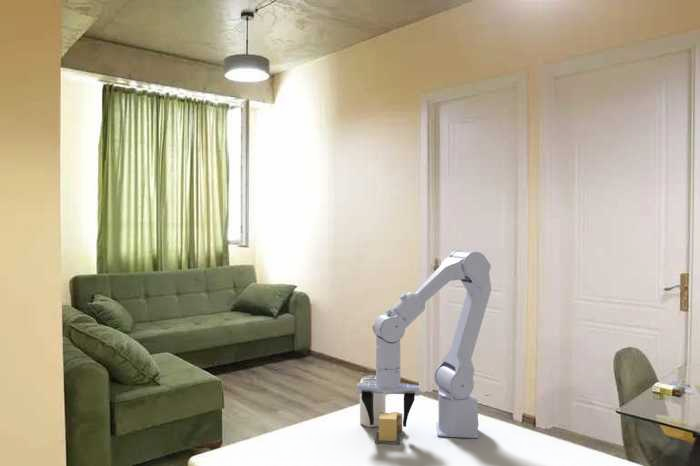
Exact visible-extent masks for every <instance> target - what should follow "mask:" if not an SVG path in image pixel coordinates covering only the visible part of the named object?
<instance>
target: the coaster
mask: <svg viewBox="0 0 700 466" xmlns="http://www.w3.org/2000/svg"><path fill="white" fill-rule="evenodd" d="M401 442H402V432H401V433H397V438H396V441H386V440H379V431H376V433H375V438H374V444H385V445H401V444H402V443H401Z"/></svg>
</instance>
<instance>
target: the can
mask: <svg viewBox="0 0 700 466" xmlns="http://www.w3.org/2000/svg"><path fill="white" fill-rule="evenodd" d="M373 382H376V372H374V373H373V372H370V373H369V372H368V373H363V374H362V375H361V379H360V382H359V383H373ZM361 397H362V393H361V394H360V393H359V423H360V424H361V425H362V426H363V427H366V428H379V416H380V413H386V394H383V393H374V394H373V412H374V423H373V425H370V420H369V416H368V412H367V409H366V407H365V405H364V403H363V401H362V398H361Z"/></svg>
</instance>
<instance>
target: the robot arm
mask: <svg viewBox="0 0 700 466" xmlns="http://www.w3.org/2000/svg"><path fill="white" fill-rule="evenodd" d="M491 267H492V266H491V264H490V262H489V261H488V259H487V257H486V256H485V255H484V254H483V253H482V252H479V251H464V250H461V249H460V250H459V249H458V250H455V251H453V252H451V254H450V255H449V256H448V257H446V258H445V259H443V261H442V262H441V264H440V265H439V266H438V267H437V268H436V270H435V271H434V272H433V273H431V274H430V276H429V277H428V278H427V279H426V280H425V281H424V282H423V283H422V285H421V286H420V287H418V288H417V290H416V291H414V292H411V291H409V292H407V293H401V295H400V296H399V300H398V301H397V302H396V303H395V304H394V305H393V306H392V307H391V308H387V309H386V311H385V313H384V314H381V315H379V316H378V317H377V318H376V319H375V320H374V324H373V325H372V326H371V327H372V332H373V333H374V335H375V336H376V337H375V338H376V342H375V343H376V344H375V345H376V346H375V350H376V351H375V373H376V382H373V383H360V382H358V383H357V385H356V394H359V395H360V394H361V393H362V397H361V398H362V401H363V403H364V405H365V407H366V409H367V412H368V416H369V420H370V425H373V423H374V412H373V394H374V393H383V394H385V395H387V394H388V395H390V394H391V395H403V416H402V428H403V427H405V428H406V427H407V421H408V417H409V413H410V411H411V409H412V406H413V404H414V402H415V399H416V398H415V396H416V397H419V396H420V385H419V384H410V383H409V384H408V383H401V340H402V339H403V337H404V335H405V332H406V328H408V327H409V326H410V325H411V324H412V323H413V322H414V321H415V320H416V319H417V318H418V317H419V316H420V315H421V314H422V313H423V312H424V311H425V310H426V302H427V301H429V300H430V299H431V298H432V297H433V296H434V295H435V294H436V293H438V292H439V291H440V290H441V289H443V287H445V286H446V285H447V284H448V283H449V282H452V281H453V282H454V281H459V280H460V282H461V284H462V285H463V286H464V288H465V290H466V295H465V298H464V301H463V305H462V308H461V311H460V316H459V319H458V322H457V325H456V327H455V328H456V329H455V332H454V335H453V339H452V343H451V345H450V348H449V349H450V350H449V352H447V353H446V354H445V355H444V356H443V357H442V359H441V362H440V364H439V365H438V366H437V368H436V369H435V371H434V376H433V378H434V382H435V384H436V385H437V386H438V421H437V422H436V435H437V436H438V437H447V438H449V437H450V438H467V439H478V438H479V407H478V406H479V404H478V397H477V396H476V395H471V394H472V392H473V390H474V386H475V382H474V373H475V372H476V371H475V367H474V364H473V361H472V357H473V355H474V352H475V351H474V350H475V346H476V344H477V340H478V337H479V334H480V330H481V326H482V324H483V320H484V316H485V313H486V309H487V306H488V302H489V300H490V295H491V292H492V284H491V278H490V271H491Z"/></svg>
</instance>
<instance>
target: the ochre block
mask: <svg viewBox="0 0 700 466" xmlns="http://www.w3.org/2000/svg"><path fill="white" fill-rule="evenodd" d="M378 432H379V440H386V441H396V438H397V413H392V412H390V413H389V412H385V413H380V416H379V427H378Z"/></svg>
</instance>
